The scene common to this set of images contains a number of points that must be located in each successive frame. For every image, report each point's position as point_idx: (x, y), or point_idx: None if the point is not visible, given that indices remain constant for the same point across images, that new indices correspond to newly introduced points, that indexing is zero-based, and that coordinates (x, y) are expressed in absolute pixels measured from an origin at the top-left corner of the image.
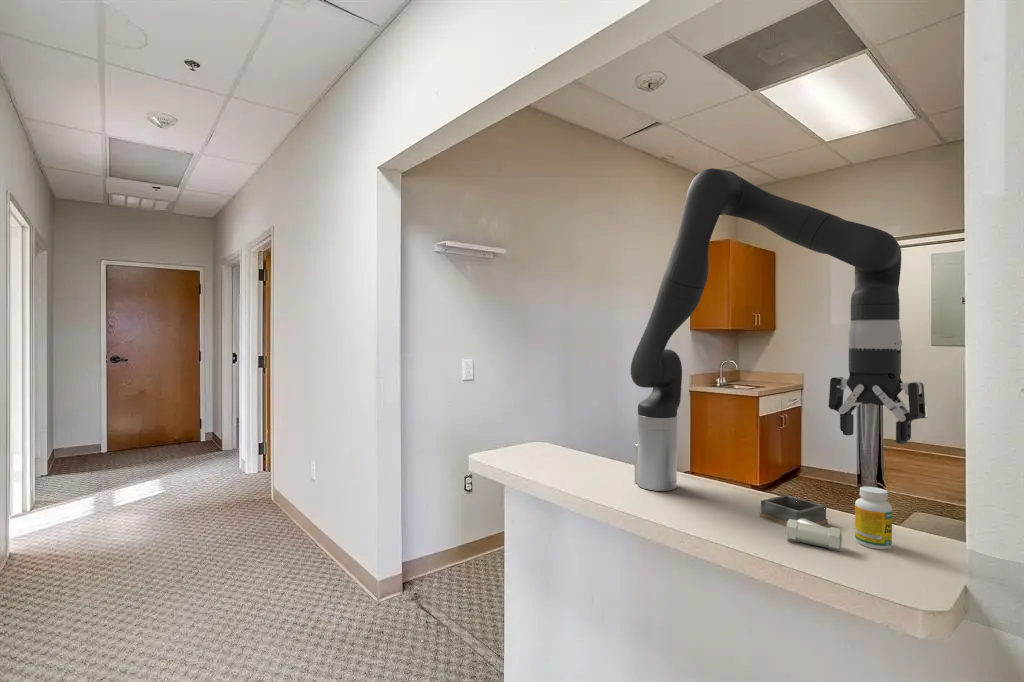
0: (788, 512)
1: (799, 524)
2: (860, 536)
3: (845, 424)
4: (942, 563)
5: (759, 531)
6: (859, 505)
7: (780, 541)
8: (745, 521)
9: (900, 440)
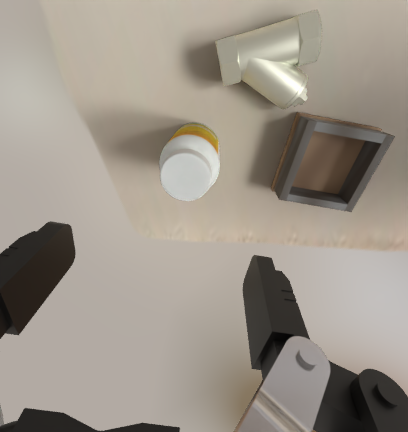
0: (331, 123)
1: (295, 33)
2: (205, 127)
3: (268, 286)
4: (111, 143)
5: (366, 33)
6: (205, 142)
7: (317, 7)
8: (401, 74)
9: (44, 226)
